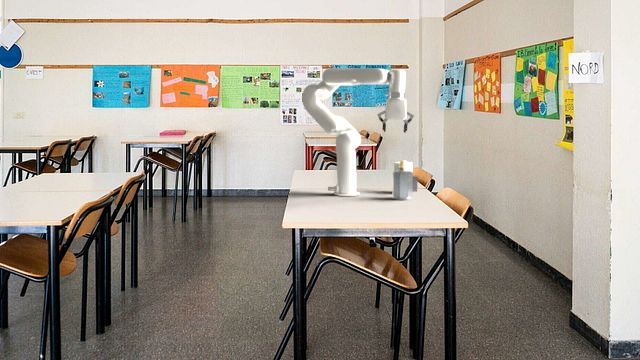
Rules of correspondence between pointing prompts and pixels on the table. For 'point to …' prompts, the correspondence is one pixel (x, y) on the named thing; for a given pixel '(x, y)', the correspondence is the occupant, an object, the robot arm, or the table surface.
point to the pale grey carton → (404, 185)
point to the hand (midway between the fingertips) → (394, 132)
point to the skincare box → (396, 166)
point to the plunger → (402, 165)
